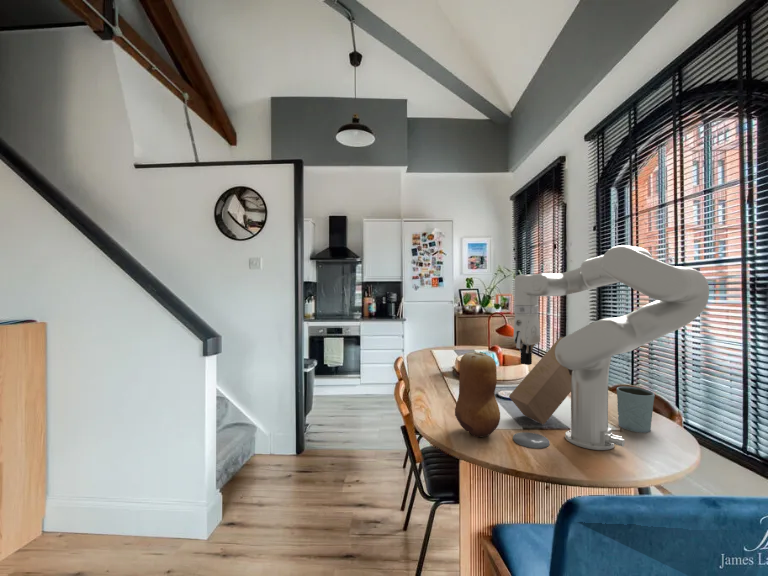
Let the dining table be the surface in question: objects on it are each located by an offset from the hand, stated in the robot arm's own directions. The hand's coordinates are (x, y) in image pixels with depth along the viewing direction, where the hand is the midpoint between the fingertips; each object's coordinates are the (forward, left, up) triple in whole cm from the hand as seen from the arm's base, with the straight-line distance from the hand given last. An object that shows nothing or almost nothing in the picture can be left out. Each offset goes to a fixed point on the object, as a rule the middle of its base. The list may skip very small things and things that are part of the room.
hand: (526, 363), depth 124 cm
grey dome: (-10, +15, -19) cm, 26 cm away
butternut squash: (+3, +23, -19) cm, 30 cm away
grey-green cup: (-26, -21, -19) cm, 39 cm away
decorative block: (-1, +2, -16) cm, 16 cm away
